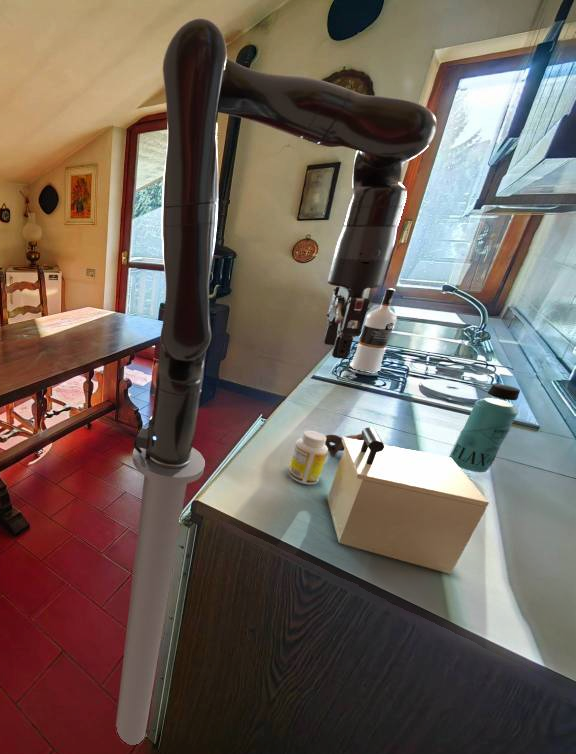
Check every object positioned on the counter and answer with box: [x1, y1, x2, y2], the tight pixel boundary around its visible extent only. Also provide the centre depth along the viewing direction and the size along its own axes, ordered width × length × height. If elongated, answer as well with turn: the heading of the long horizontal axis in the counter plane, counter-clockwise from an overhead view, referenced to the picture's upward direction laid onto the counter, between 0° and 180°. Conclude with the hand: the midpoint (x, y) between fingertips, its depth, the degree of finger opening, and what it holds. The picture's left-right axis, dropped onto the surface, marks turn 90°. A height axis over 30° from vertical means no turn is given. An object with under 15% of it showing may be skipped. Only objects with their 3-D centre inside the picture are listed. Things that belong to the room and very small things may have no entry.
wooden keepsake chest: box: [327, 448, 488, 575], centre depth 65 cm, size 15×13×13 cm
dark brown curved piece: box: [324, 433, 364, 458], centre depth 86 cm, size 12×10×8 cm
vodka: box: [348, 288, 398, 377], centre depth 136 cm, size 9×9×30 cm
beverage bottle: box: [448, 383, 521, 473], centre depth 81 cm, size 6×7×20 cm
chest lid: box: [341, 427, 490, 507], centre depth 62 cm, size 15×13×5 cm
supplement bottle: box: [288, 430, 329, 485], centre depth 80 cm, size 6×6×10 cm
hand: (334, 350), depth 70 cm, fingers open, 8 cm apart
